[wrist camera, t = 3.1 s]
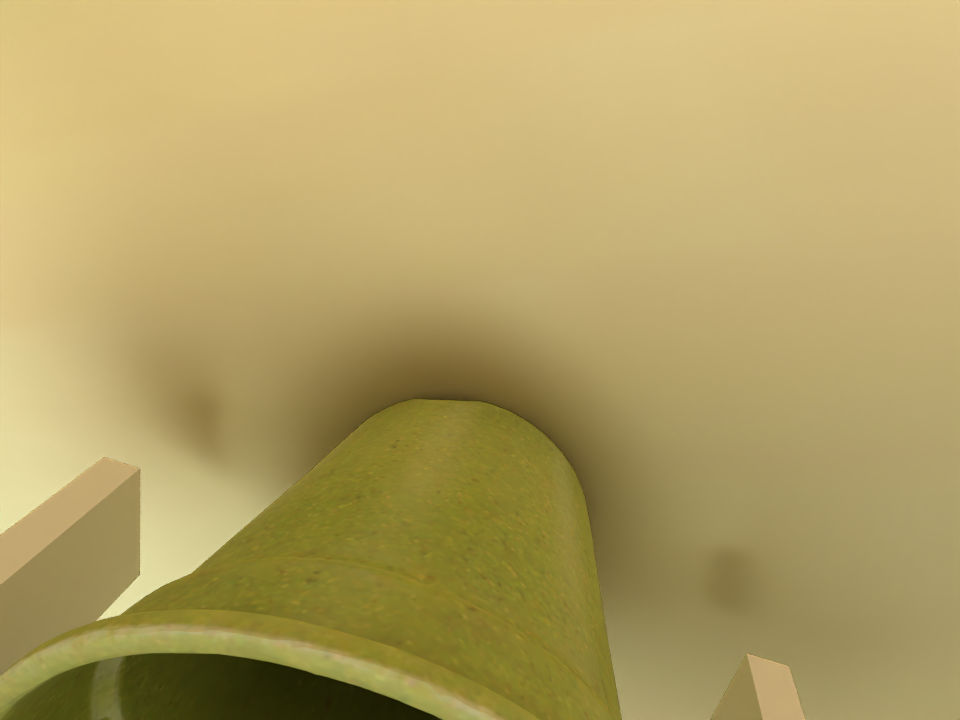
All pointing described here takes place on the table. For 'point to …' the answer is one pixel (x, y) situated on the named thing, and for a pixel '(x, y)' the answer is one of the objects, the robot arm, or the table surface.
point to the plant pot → (367, 595)
